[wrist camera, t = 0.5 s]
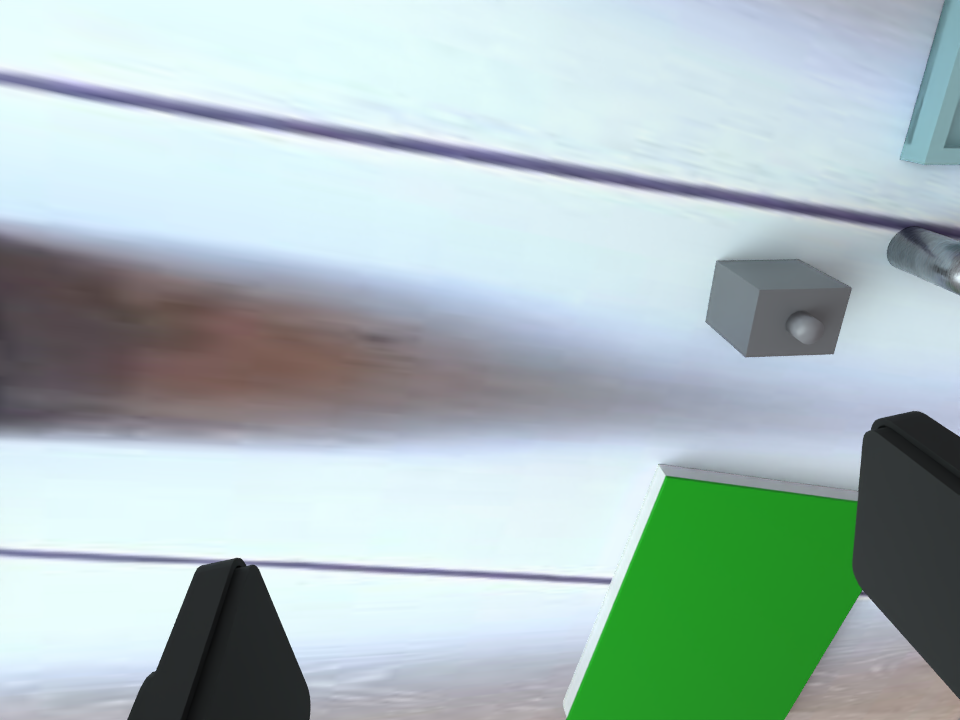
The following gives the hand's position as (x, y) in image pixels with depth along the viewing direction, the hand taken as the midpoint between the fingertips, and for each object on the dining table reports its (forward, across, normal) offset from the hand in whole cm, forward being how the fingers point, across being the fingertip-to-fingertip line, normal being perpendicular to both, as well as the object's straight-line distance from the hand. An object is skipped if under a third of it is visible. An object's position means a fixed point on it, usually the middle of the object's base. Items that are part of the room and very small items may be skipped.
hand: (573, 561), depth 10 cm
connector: (+34, -20, +11) cm, 41 cm away
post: (+34, -32, +10) cm, 48 cm away
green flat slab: (+36, -17, +41) cm, 57 cm away
